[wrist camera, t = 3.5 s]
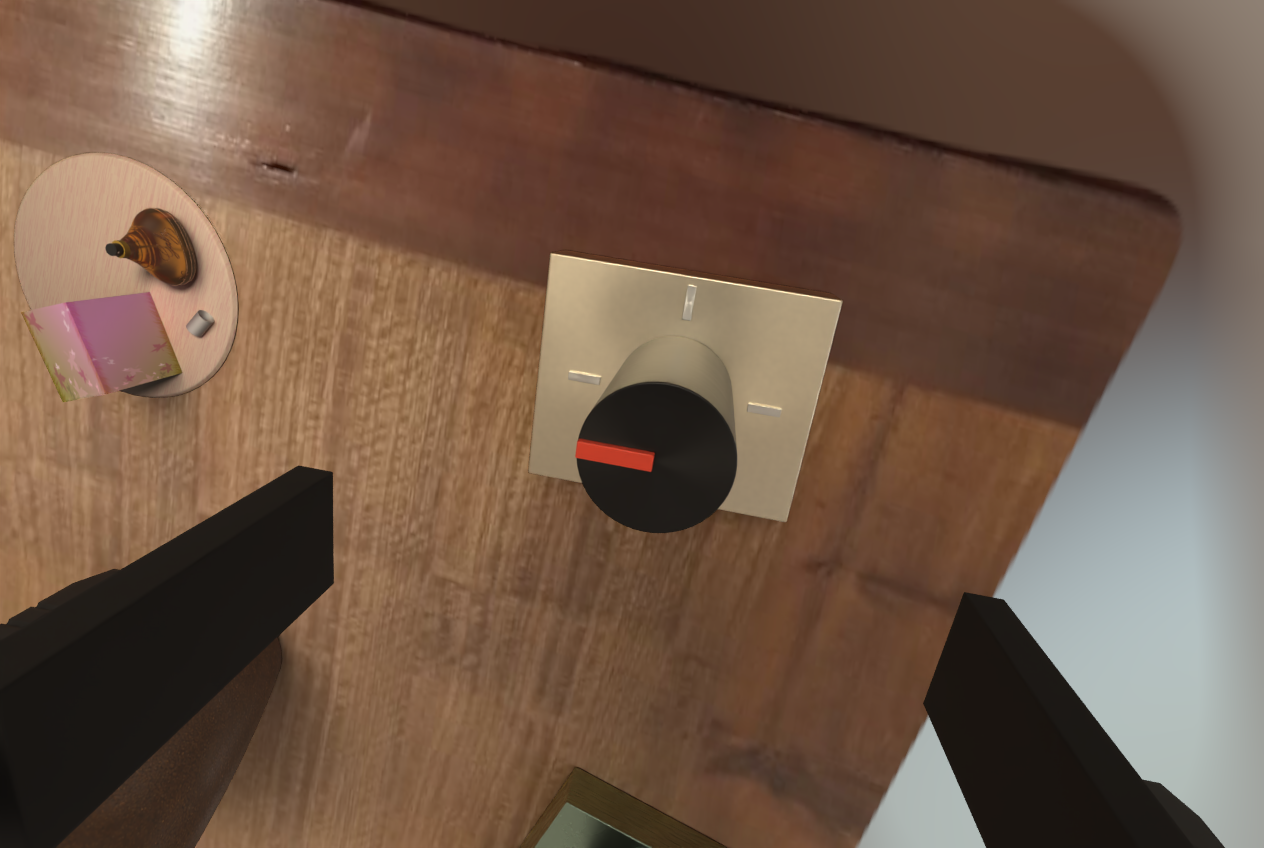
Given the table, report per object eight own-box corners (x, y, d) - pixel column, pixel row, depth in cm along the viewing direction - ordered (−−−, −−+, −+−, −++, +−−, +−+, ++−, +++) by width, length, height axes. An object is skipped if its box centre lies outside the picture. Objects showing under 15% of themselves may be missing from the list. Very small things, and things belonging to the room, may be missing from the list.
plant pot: (344, 764, 40) (113, 1097, 25) (127, 715, 41) (-218, 1004, 26) (340, 559, 35) (53, 815, 20) (96, 510, 36) (-351, 717, 21)
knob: (743, 346, 26) (753, 401, 18) (719, 458, 28) (720, 551, 20) (624, 326, 26) (584, 370, 18) (608, 437, 28) (565, 521, 20)
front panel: (833, 293, 27) (844, 300, 25) (781, 500, 30) (787, 525, 28) (563, 249, 28) (548, 252, 26) (541, 454, 31) (526, 474, 29)
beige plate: (272, 378, 32) (203, 402, 28) (80, 413, 34) (-10, 440, 30) (180, 126, 29) (86, 109, 25) (-26, 182, 31) (-144, 176, 27)
